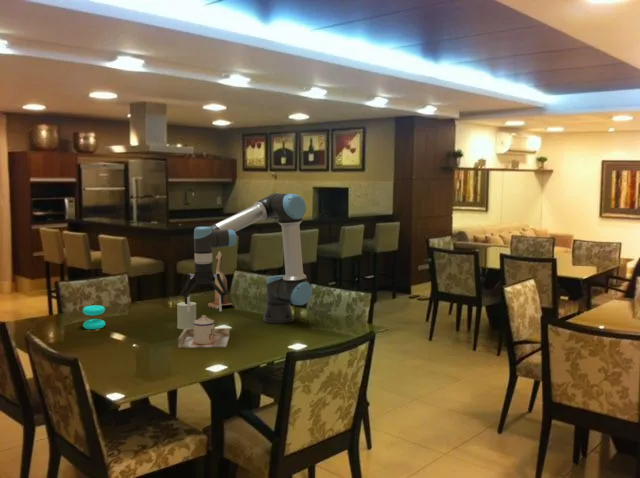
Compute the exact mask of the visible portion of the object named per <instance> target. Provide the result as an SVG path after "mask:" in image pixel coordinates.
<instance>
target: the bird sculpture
mask: <svg viewBox="0 0 640 478" xmlns="http://www.w3.org/2000/svg"><path fill="white" fill-rule="evenodd" d="M215 260H217V264H216V269H215V274H218V273H220V277H221V280H222V282H223V283H224V285H225V287H226V289H227V290H228V280H227V278H226V277H227V276H225V274H224V273H223V254H222V252H221V251H220V250H218V253H217V255H216V256H215ZM214 283H215V284H216V285H217V286H218V287H219V288H220V290H221V291H222V292H224V291H223V289H222V288H221V286H220V284H219V282H218V280H217V279H216V278H215V277H214ZM219 296H220V294H219V293H218V292H217V291H216V290H215V289H214V302H213V301H211V302H209V303H208V304H207V307H208V308H211V307H212V308H211V309H214V308H215V310H217V309H218V310H219ZM222 306H229V307H232V308H233V307H234V308H236V305H235V304H234V303H232V302H228V294H227V295H224V303H222Z"/></svg>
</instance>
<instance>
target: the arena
mask: <svg viewBox="0 0 640 478" xmlns="http://www.w3.org/2000/svg"><path fill="white" fill-rule="evenodd" d="M229 339H230V328H226V327H225V328H224V327H223V328H221V327H220V328H216V327H214V342H213V343H210V344H196V343H194V329H182V332H181V333H180V335H179V336H178V338H177V340H178V341H177V344H178V345H177V346H178V347H177V348H180V349H181V348H185V349H188V348H189V349H190V348H195V349H196V348H227V345H228V342H229Z"/></svg>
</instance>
